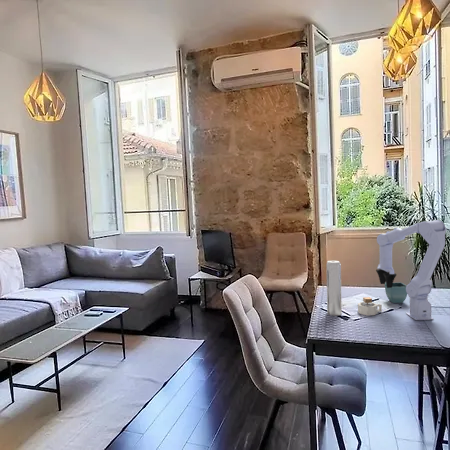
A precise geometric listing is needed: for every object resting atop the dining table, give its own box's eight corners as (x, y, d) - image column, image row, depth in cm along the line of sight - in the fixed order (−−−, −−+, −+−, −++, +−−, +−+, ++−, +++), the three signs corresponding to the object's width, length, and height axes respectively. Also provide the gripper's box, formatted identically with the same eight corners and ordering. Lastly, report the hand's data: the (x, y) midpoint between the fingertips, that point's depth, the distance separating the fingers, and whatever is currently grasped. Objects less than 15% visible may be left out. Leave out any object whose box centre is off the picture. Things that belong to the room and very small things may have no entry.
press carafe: (384, 314, 182) (384, 306, 182) (362, 315, 182) (362, 307, 182) (377, 309, 190) (377, 301, 190) (356, 310, 190) (356, 302, 190)
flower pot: (408, 304, 196) (408, 286, 196) (390, 304, 197) (390, 287, 196) (401, 299, 205) (401, 282, 204) (384, 299, 205) (384, 282, 205)
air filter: (342, 315, 183) (341, 262, 181) (327, 315, 184) (326, 262, 182) (341, 311, 189) (340, 259, 187) (327, 311, 190) (326, 260, 188)
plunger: (374, 312, 183) (374, 299, 183) (364, 312, 183) (364, 299, 183) (370, 309, 188) (370, 296, 188) (360, 309, 188) (360, 296, 188)
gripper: (371, 256, 199) (372, 282, 200) (383, 261, 185) (383, 289, 186) (385, 255, 199) (386, 281, 200) (398, 260, 185) (398, 289, 186)
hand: (386, 285), depth 193 cm, fingers open, 7 cm apart
